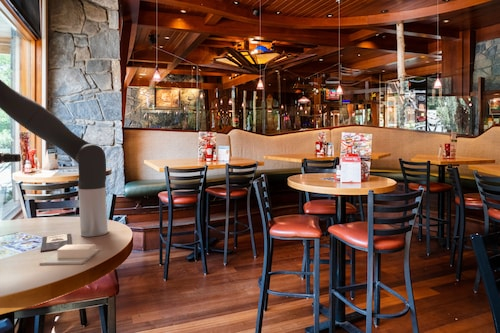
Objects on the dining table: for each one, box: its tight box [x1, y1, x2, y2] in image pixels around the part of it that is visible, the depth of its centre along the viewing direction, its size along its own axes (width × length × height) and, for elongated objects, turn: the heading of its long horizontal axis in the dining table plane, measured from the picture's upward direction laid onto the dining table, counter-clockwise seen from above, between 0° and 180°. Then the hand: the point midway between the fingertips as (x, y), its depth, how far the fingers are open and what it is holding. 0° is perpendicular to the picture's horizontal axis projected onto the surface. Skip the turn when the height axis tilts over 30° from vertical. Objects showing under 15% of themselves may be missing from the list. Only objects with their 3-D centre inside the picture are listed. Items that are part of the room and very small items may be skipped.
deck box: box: [56, 243, 96, 258], centre depth 109 cm, size 5×3×9 cm
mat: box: [38, 248, 100, 266], centre depth 109 cm, size 12×12×1 cm
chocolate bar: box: [40, 233, 73, 253], centre depth 125 cm, size 9×1×18 cm
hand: (19, 157), depth 107 cm, fingers closed
